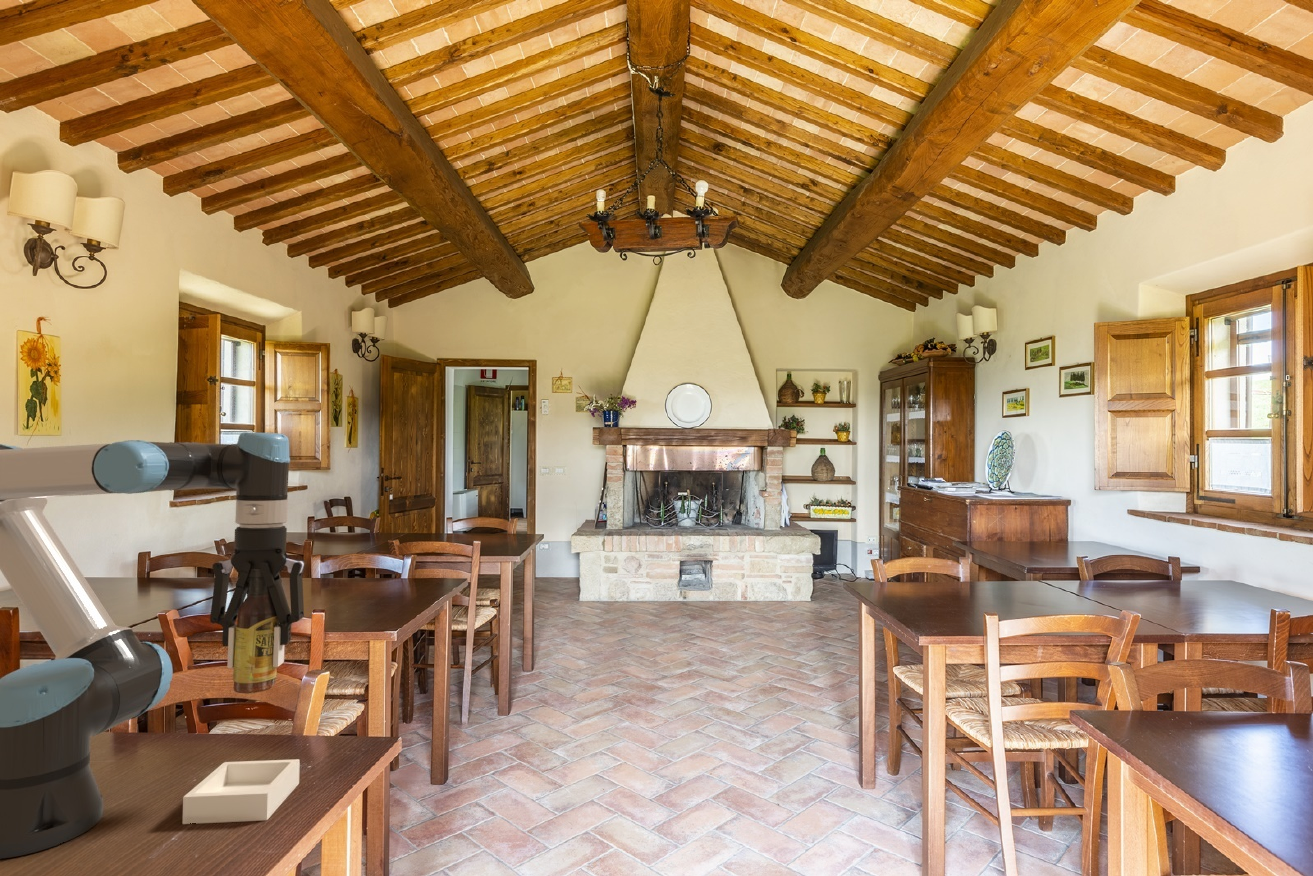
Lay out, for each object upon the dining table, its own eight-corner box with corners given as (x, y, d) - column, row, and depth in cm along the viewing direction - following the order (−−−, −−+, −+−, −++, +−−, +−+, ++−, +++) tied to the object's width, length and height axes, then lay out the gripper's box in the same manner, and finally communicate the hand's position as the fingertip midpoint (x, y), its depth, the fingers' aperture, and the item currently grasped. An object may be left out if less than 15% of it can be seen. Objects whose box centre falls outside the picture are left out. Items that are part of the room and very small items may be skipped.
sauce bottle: (258, 696, 111) (262, 572, 111) (223, 694, 112) (227, 570, 112) (285, 683, 117) (289, 566, 118) (252, 681, 118) (256, 564, 119)
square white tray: (182, 824, 104) (183, 797, 104) (223, 786, 116) (224, 762, 116) (267, 820, 105) (267, 793, 105) (299, 783, 117) (299, 759, 117)
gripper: (186, 527, 110) (180, 673, 109) (315, 527, 113) (310, 670, 112) (209, 522, 117) (203, 660, 117) (329, 523, 121) (324, 657, 120)
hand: (256, 664), depth 115 cm, fingers closed on sauce bottle, 6 cm apart
